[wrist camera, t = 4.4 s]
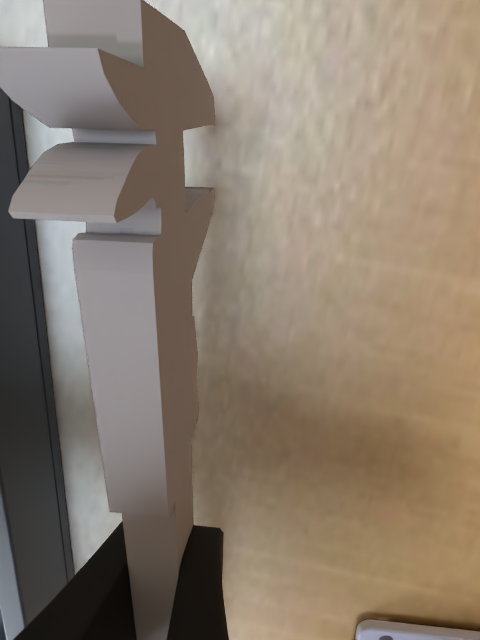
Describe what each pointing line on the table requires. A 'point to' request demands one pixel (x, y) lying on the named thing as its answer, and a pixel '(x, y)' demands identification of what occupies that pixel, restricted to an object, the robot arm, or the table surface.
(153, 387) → the caliper
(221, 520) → the table surface
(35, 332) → the tray
